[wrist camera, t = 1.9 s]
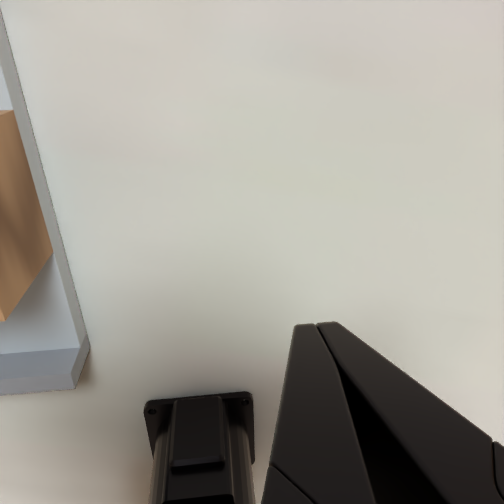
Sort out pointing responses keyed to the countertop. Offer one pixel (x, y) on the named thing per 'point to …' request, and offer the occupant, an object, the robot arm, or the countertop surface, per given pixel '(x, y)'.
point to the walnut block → (18, 219)
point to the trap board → (39, 283)
